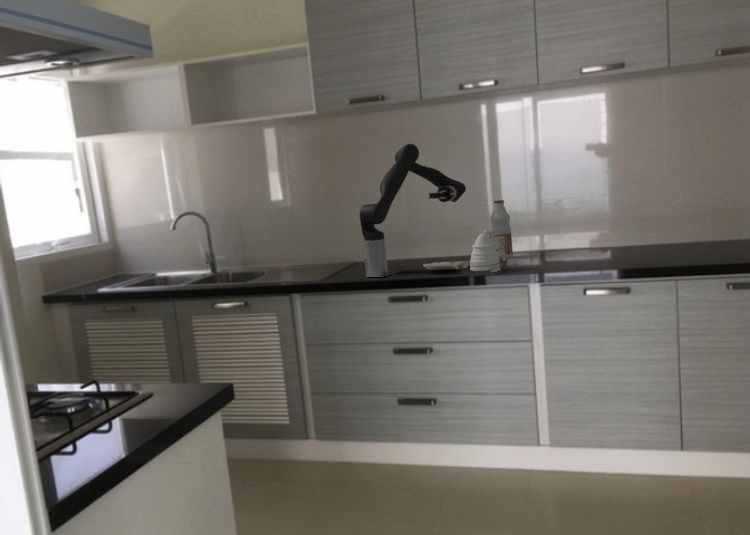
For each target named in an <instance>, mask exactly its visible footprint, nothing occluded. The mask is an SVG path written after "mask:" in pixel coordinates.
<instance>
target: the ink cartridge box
mask: <svg viewBox="0 0 750 535" xmlns="http://www.w3.org/2000/svg"><path fill="white" fill-rule="evenodd" d="M492 233H493V235H492ZM488 237H489V239H490V240H491V242H492V243H495V244H496V245H495V246H494V248H495V250H496V253H497V255H498V257H499V259H500V262H499V263H500V264H501V263H504V262H506V261H507V259H506V254H505V236H499V237H495V231H490V232H489V234H488Z"/></svg>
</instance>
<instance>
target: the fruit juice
mask: <svg viewBox="0 0 750 535" xmlns="http://www.w3.org/2000/svg"><path fill="white" fill-rule="evenodd" d="M493 205H494V208H493V211H492V214H491V216H490V224H491V229H490V230H491V231H495V237H499V236H505V254H506V260H509V259H512V258H513V257H514V253H513V240H512V228H511V225H510V222H511V221H510V220H511V218H510V215H509V213H508V212H507V209H506V207H505V200H503V199H500V200H498V199H497V200H494V201H493ZM491 231H490V232H491ZM491 235H493V233H492V234H491Z"/></svg>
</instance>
